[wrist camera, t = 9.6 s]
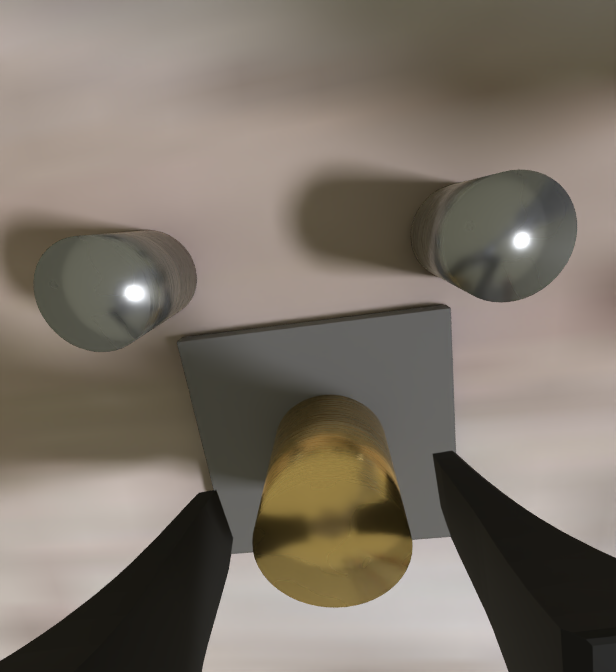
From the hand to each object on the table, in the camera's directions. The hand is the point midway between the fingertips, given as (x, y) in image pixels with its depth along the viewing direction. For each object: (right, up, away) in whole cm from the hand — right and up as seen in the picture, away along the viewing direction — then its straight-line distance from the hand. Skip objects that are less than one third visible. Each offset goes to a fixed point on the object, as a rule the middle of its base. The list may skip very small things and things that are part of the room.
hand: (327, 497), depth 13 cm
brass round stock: (0, +1, +3) cm, 3 cm away
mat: (0, +1, +3) cm, 4 cm away
